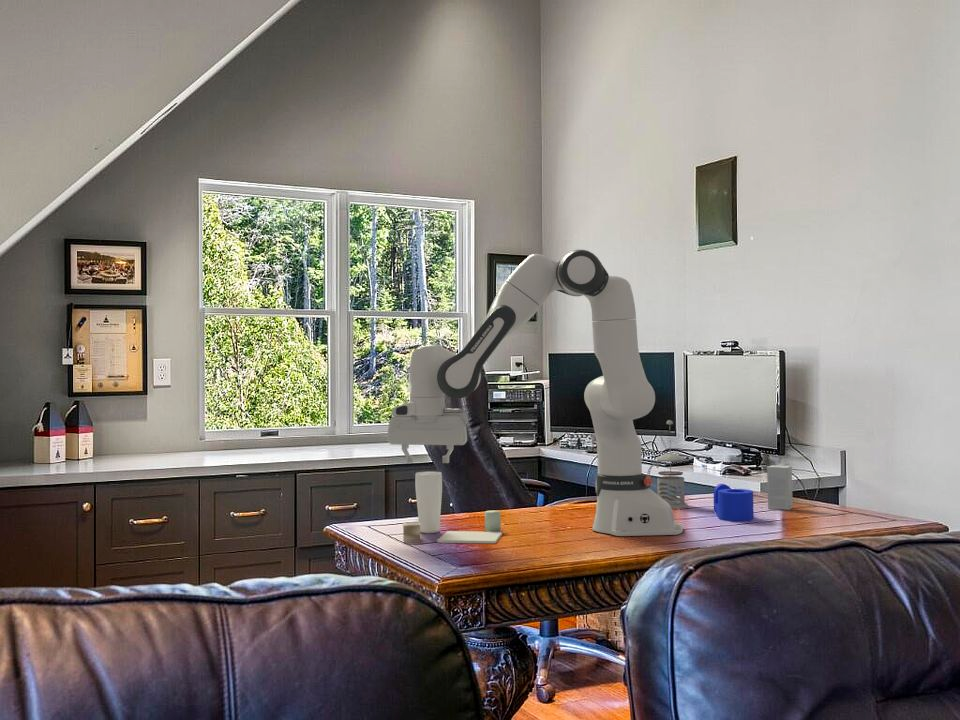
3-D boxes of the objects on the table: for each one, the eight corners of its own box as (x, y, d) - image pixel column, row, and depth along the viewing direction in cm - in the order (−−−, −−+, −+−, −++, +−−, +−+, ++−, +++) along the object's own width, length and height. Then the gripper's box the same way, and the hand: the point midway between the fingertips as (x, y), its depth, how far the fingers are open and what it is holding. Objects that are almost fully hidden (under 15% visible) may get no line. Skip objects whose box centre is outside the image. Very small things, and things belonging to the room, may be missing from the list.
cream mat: (502, 534, 238) (502, 531, 238) (495, 543, 226) (495, 540, 226) (447, 533, 240) (447, 531, 240) (437, 542, 228) (437, 540, 228)
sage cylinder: (501, 530, 244) (501, 510, 244) (499, 532, 240) (499, 513, 240) (486, 529, 245) (486, 510, 245) (483, 532, 241) (483, 512, 241)
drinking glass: (439, 534, 239) (438, 474, 239) (413, 534, 240) (412, 474, 240) (445, 529, 246) (444, 471, 246) (420, 529, 247) (419, 471, 247)
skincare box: (793, 508, 270) (792, 466, 270) (789, 510, 267) (788, 467, 267) (771, 506, 274) (770, 465, 274) (767, 508, 270) (766, 466, 270)
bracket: (757, 522, 250) (757, 493, 250) (723, 522, 250) (722, 493, 250) (738, 510, 270) (738, 483, 270) (706, 511, 270) (705, 484, 270)
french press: (684, 509, 272) (682, 421, 272) (644, 507, 277) (642, 421, 277) (691, 504, 281) (690, 419, 281) (653, 502, 286) (651, 418, 286)
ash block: (419, 538, 235) (419, 522, 235) (420, 541, 231) (420, 525, 231) (403, 539, 234) (403, 522, 234) (403, 542, 230) (403, 525, 230)
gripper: (469, 407, 244) (470, 461, 244) (392, 407, 248) (392, 461, 248) (465, 408, 238) (465, 464, 238) (385, 408, 241) (385, 463, 241)
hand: (427, 462), depth 243 cm, fingers open, 8 cm apart
